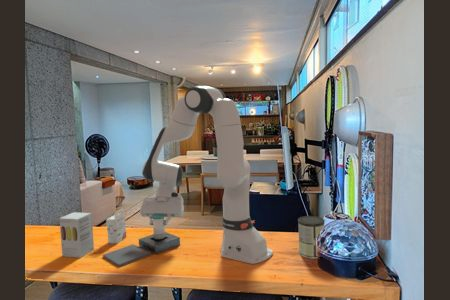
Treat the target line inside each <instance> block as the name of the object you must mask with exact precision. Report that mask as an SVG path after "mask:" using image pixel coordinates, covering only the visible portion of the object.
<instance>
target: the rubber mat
mask: <svg viewBox="0 0 450 300" xmlns="http://www.w3.org/2000/svg"><path fill="white" fill-rule="evenodd" d="M148 256H151V252H149V251H147V250H145V249H143V248H141V247H139V245H136V244H133V243H132V244H130V245H127V246H124V247H122V248H121V247H120V248H118V249H116V250H112V251H109V252H107V253H104V254H103V255H102V257H103V258H104V259H106V260H107V261H109V262H110V263H112V264H114V265H116V266H117V267H118V268H121V267H123V266H125V265H128V264H131V263H133V262H135V261H138V260H141V259H143V258H144V259H145V257H148Z"/></svg>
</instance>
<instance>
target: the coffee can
mask: <svg viewBox="0 0 450 300" xmlns="http://www.w3.org/2000/svg"><path fill="white" fill-rule="evenodd" d="M297 222H298V227H297V228H298V255H300V256H301V257H303V258H306V259H310V260H311V259H312V260H314V259H315V260H316V259H317V258H318V255H317V250H316V238H317V237H318V236H319V233H320V231H321V230H322V228H323V227H324V228H325V222H326V221H325V219H324V218H323V217H321V216H315V215H305V216H300V217H298V219H297ZM318 259H319V258H318Z"/></svg>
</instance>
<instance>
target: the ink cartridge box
mask: <svg viewBox="0 0 450 300" xmlns="http://www.w3.org/2000/svg"><path fill="white" fill-rule="evenodd" d="M124 209H125V208H120V209H119V210H117V211H115V212H114V214H113V215H112V216H110V217H108V218H107V219H106V220H105V222H106V231H107V241H108V242H107V243H108V244H119V243H120V242H122V241H123V240H124V239H126V238H127V230H126V229H127V228H126V227H127V226H126V216H125V210H124Z"/></svg>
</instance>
